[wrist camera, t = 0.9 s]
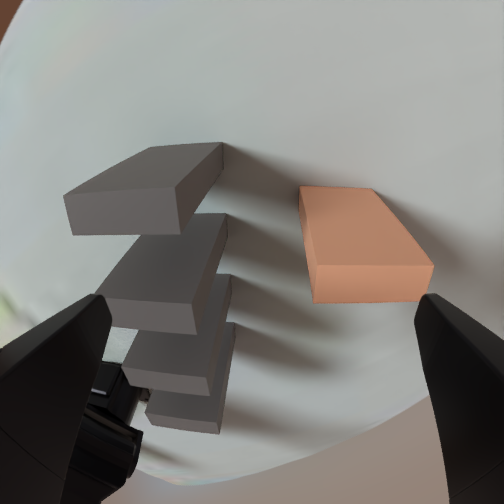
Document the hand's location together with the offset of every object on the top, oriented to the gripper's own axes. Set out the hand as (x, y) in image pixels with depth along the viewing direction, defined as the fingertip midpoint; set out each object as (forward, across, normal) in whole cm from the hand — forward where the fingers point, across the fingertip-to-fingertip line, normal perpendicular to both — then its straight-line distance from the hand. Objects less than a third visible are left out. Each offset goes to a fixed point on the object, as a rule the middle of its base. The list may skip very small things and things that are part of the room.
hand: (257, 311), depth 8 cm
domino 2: (+14, +6, +4) cm, 15 cm away
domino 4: (+14, +6, +14) cm, 20 cm away
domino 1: (+14, +6, -2) cm, 15 cm away
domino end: (+14, -4, +2) cm, 14 cm away
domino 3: (+14, +6, +8) cm, 17 cm away
